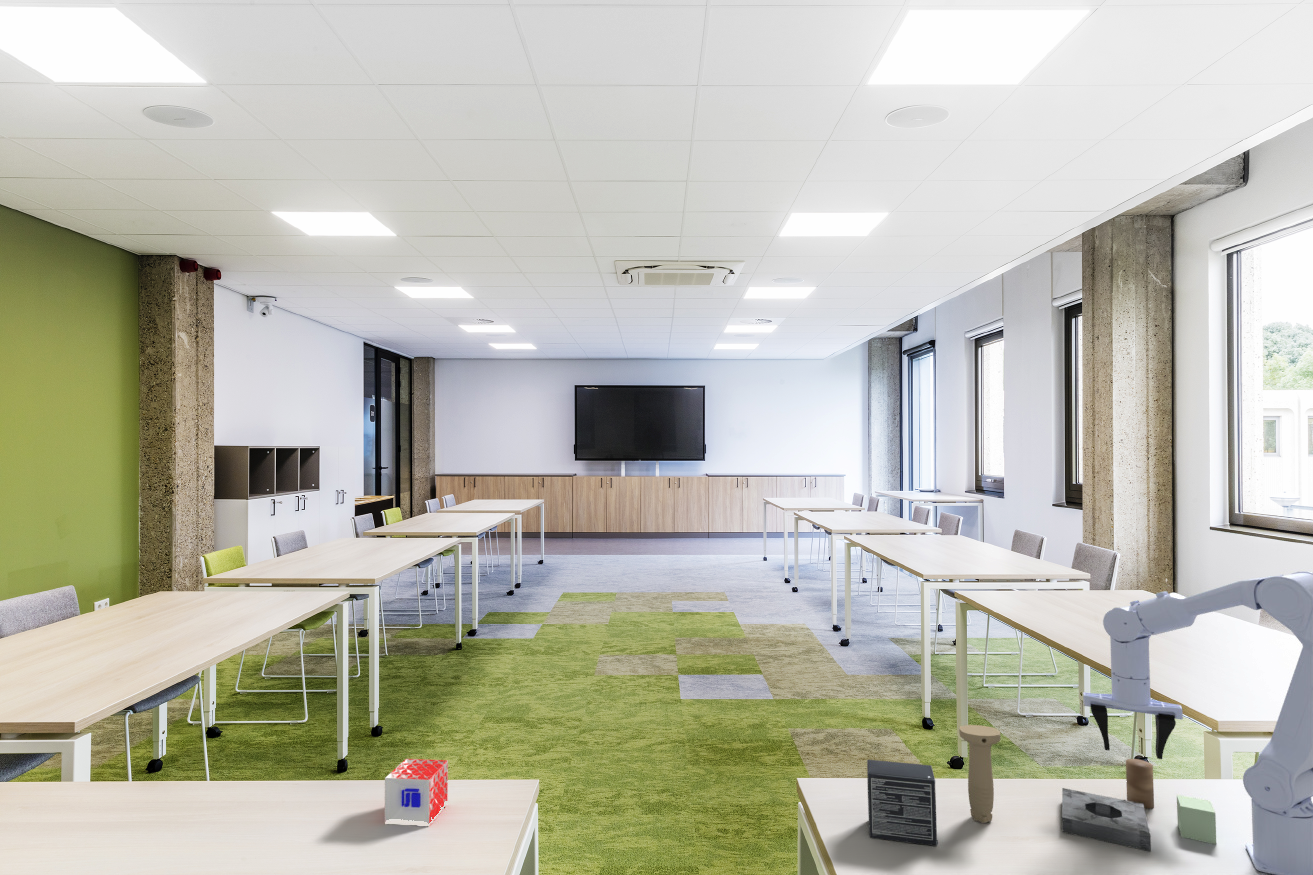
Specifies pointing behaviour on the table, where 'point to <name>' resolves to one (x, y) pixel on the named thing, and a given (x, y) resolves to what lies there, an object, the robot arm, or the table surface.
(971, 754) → the handle
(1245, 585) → the robot arm
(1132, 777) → the walnut peg
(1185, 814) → the square bit
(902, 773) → the small box
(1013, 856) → the table surface
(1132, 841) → the socket block
